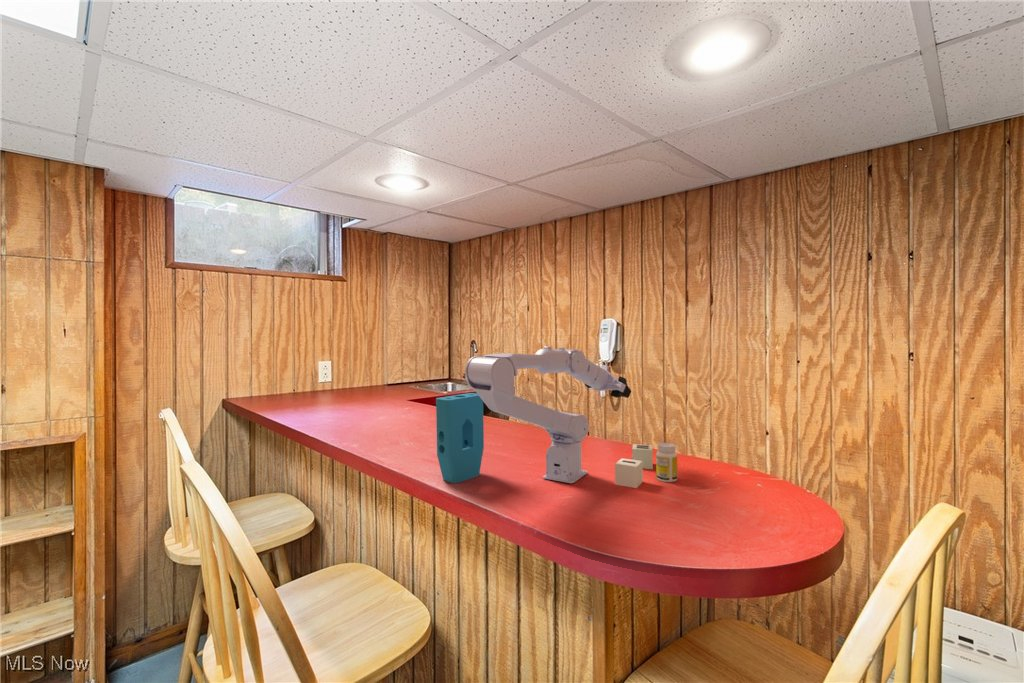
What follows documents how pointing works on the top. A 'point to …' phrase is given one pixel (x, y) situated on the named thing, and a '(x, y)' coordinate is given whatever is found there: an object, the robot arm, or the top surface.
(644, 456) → the numbered block two
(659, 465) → the supplement bottle
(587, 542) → the top surface
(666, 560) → the top surface
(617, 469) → the numbered block one
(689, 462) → the top surface
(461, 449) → the block
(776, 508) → the top surface
